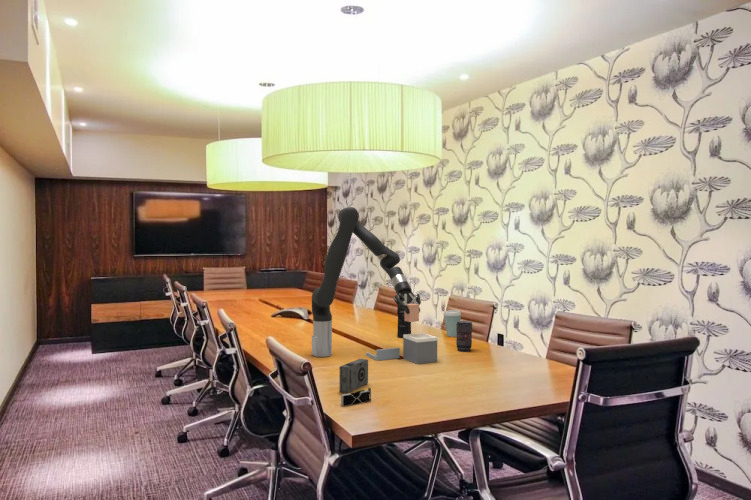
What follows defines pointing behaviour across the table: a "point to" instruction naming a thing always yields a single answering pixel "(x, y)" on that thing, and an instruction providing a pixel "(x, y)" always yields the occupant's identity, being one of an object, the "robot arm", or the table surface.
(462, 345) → the camera lens
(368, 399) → the graphics card
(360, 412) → the table surface
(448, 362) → the table surface
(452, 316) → the disposable coffee cup
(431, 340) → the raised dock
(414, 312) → the plug block
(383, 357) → the low dock
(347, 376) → the camera
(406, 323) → the portable radio
